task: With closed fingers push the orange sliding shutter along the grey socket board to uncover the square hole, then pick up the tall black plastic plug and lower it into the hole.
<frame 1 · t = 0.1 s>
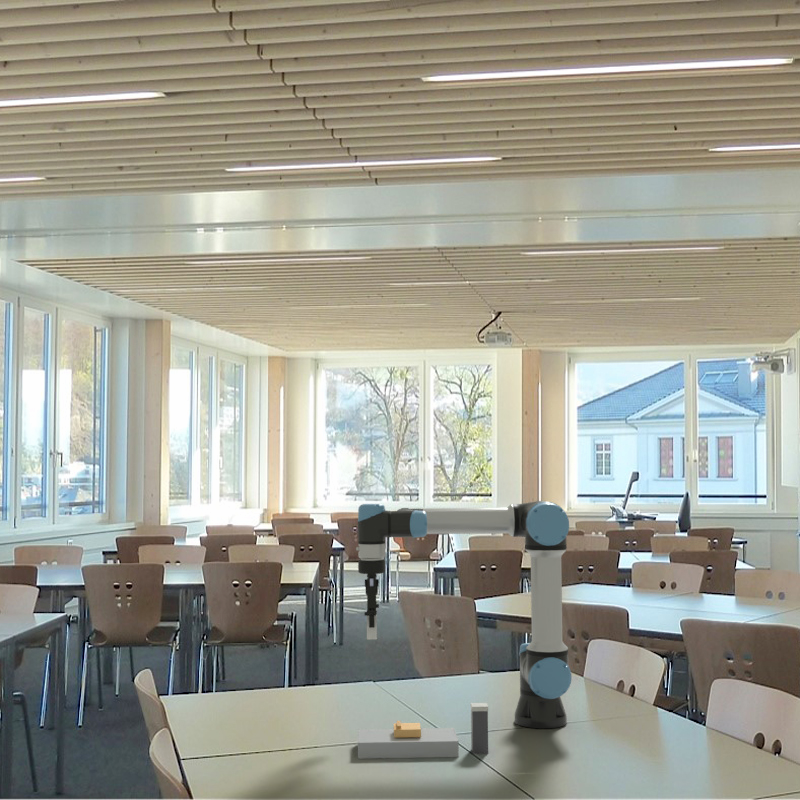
hand: (372, 635, 303), 28 cm above the table, fingers open, 13 cm apart
shutter: (407, 728, 286), point 6 cm above the table, slide at 0.0 cm
socket board: (407, 750, 286), on the table
plug: (479, 751, 284), on the table
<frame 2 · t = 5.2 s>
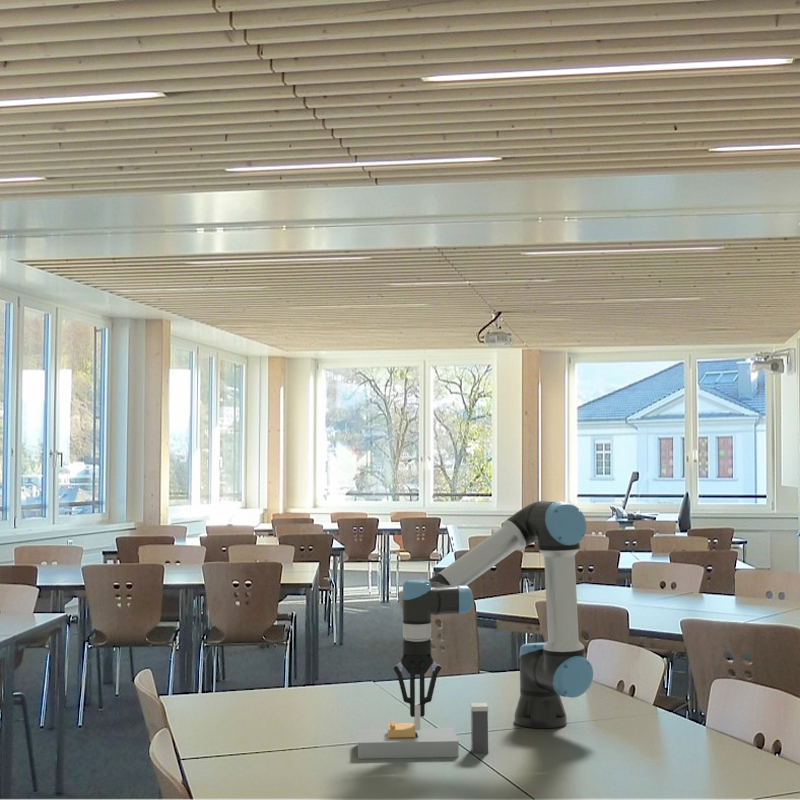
hand: (417, 728, 286), 6 cm above the table, fingers closed
shutter: (401, 728, 286), point 6 cm above the table, slide at 1.5 cm, touching gripper
everything else where it was.
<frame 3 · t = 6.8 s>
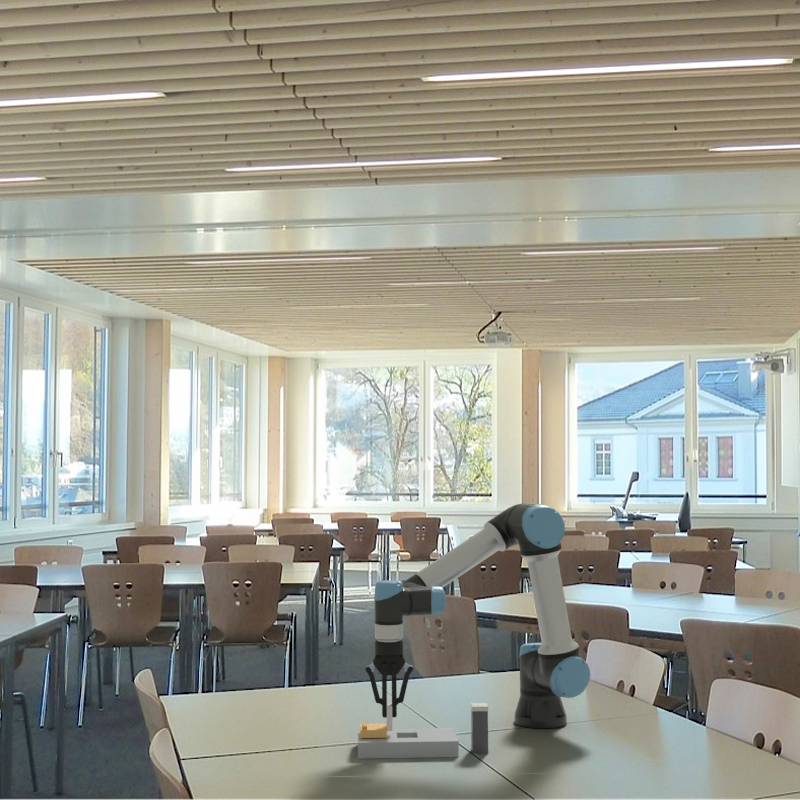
hand: (389, 729, 286), 5 cm above the table, fingers closed
shutter: (373, 729, 286), point 6 cm above the table, slide at 8.9 cm, touching gripper
everything else where it was.
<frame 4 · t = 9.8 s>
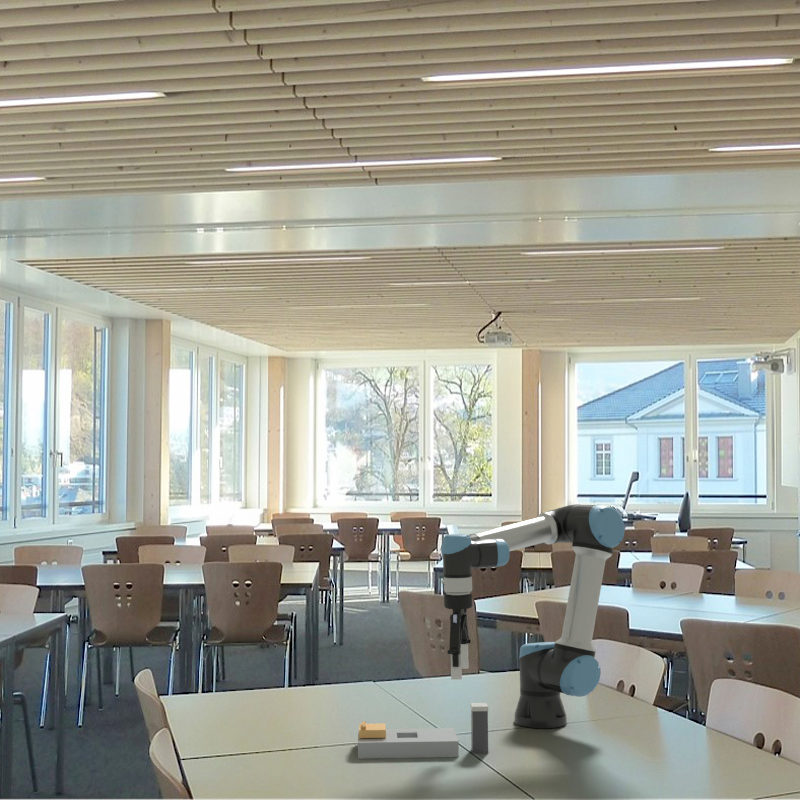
hand: (460, 673, 286), 20 cm above the table, fingers open, 13 cm apart
shutter: (372, 729, 286), point 6 cm above the table, slide at 9.2 cm
everything else where it was.
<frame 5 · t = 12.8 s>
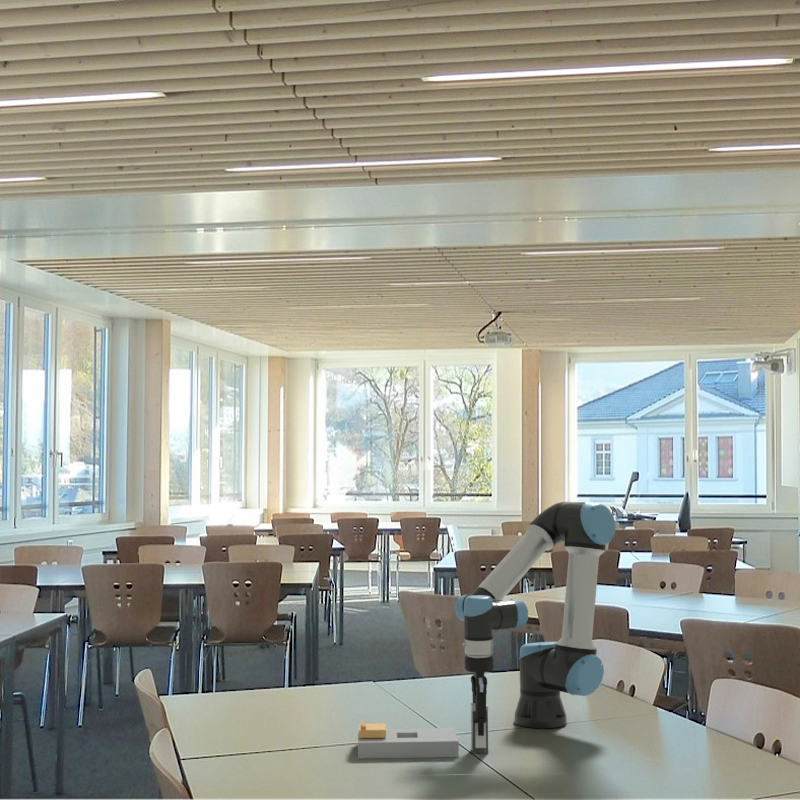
hand: (479, 745, 284), 2 cm above the table, fingers closed on plug, 4 cm apart
plug: (479, 751, 284), on the table, touching gripper
everything else where it was.
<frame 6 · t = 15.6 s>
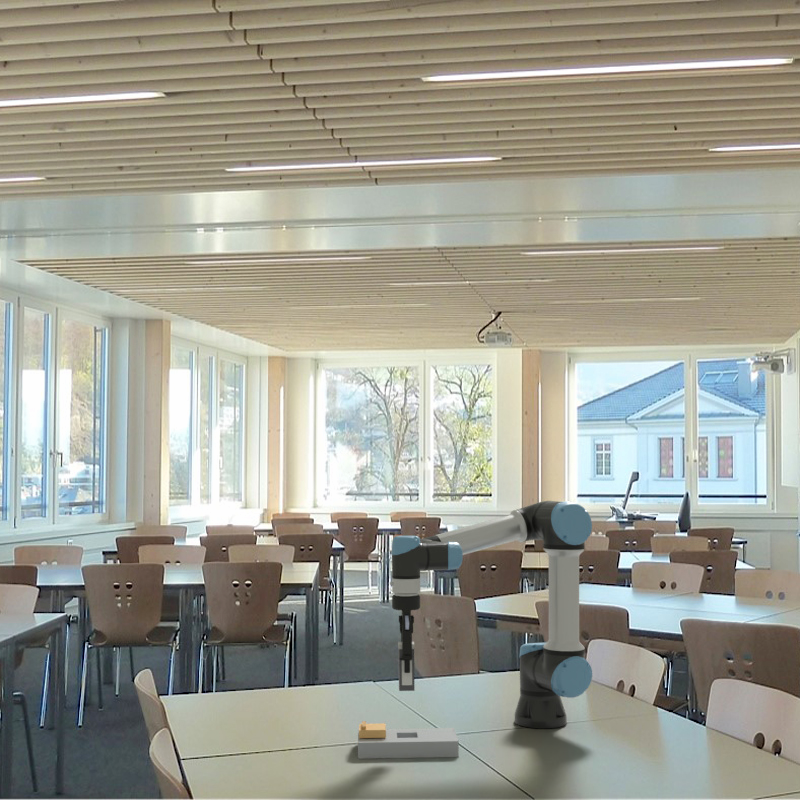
hand: (406, 682, 287), 18 cm above the table, fingers closed on plug, 4 cm apart
plug: (406, 689, 287), point 16 cm above the table, touching gripper
everything else where it was.
when the fingers open (5 cm above the table, at t = 18.6 s): plug drops 3 cm, resting in socket board.
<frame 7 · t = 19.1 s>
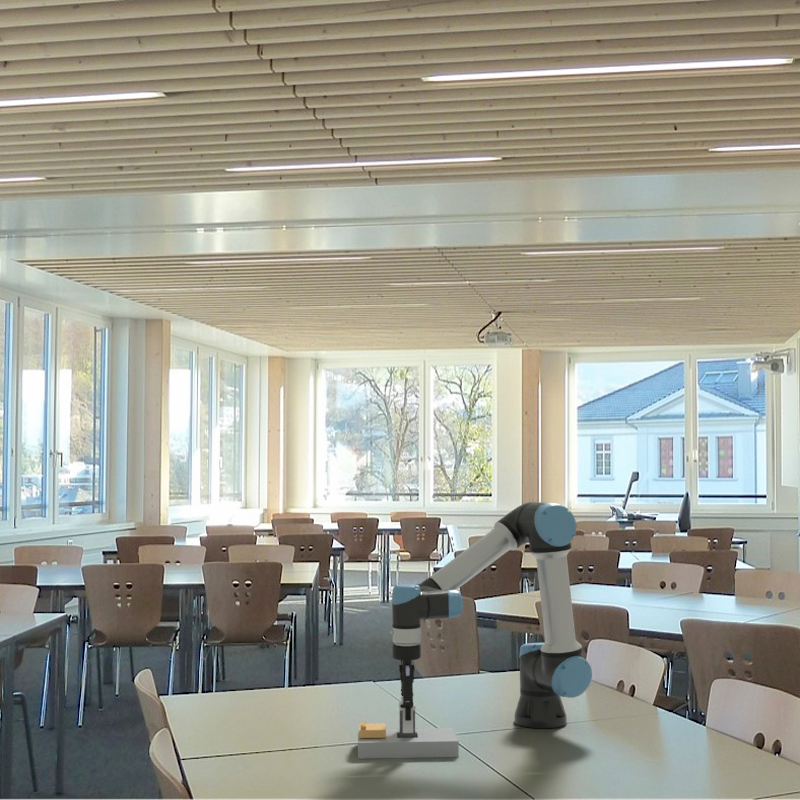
hand: (407, 727, 286), 6 cm above the table, fingers open, 11 cm apart
plug: (407, 750, 286), resting in socket board
everything else where it was.
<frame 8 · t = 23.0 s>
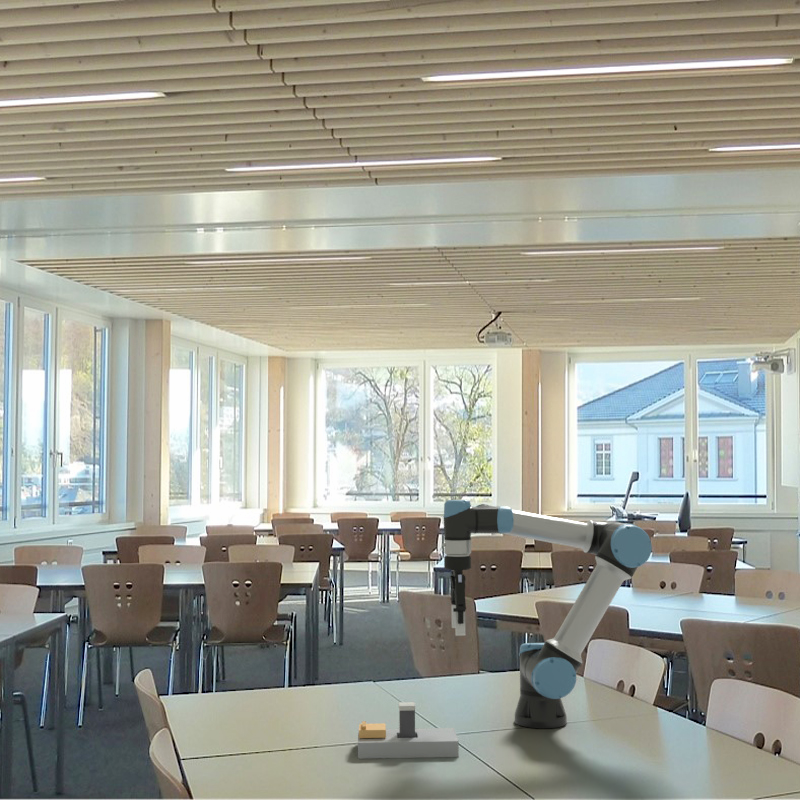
hand: (458, 631, 302), 29 cm above the table, fingers open, 13 cm apart
nothing on the table moved.
at the end: plug 0.0 cm off-centre on the socket board, point 0.0 cm above the socket board's base; plug tilted 0°; shutter slide at 9.2 cm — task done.
